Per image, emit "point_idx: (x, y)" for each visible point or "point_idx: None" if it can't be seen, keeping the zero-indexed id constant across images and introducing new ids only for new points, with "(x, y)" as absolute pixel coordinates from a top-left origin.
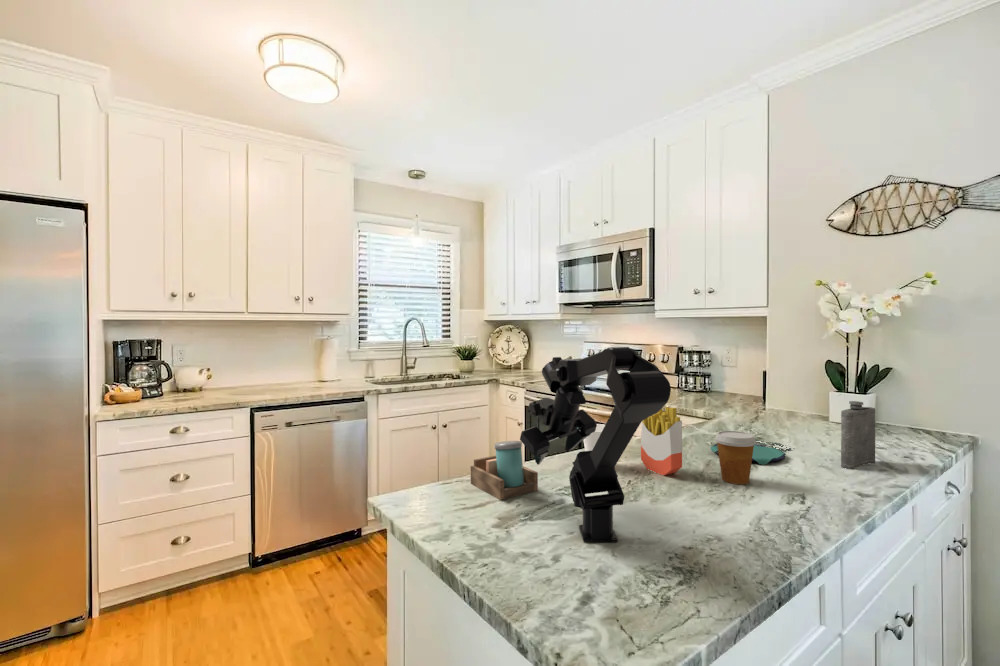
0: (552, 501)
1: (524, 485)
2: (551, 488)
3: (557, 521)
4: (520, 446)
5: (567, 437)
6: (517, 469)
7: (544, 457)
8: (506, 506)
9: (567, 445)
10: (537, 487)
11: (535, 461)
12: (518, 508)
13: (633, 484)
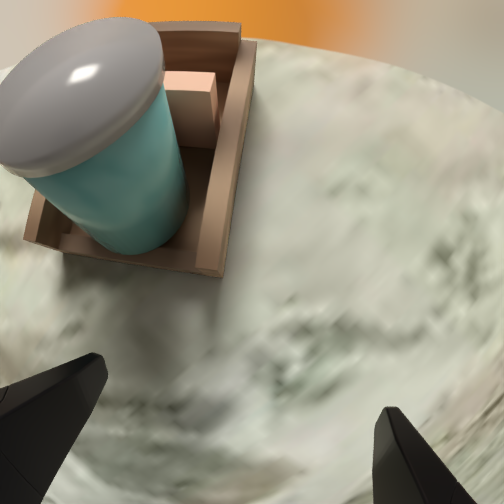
0: (181, 396)
1: (147, 262)
2: (285, 298)
3: (93, 482)
4: (71, 164)
5: (419, 497)
6: (93, 229)
7: (55, 470)
8: (44, 307)
9: (388, 457)
10: (220, 276)
11: (89, 355)
12: (58, 348)
13: (484, 427)
